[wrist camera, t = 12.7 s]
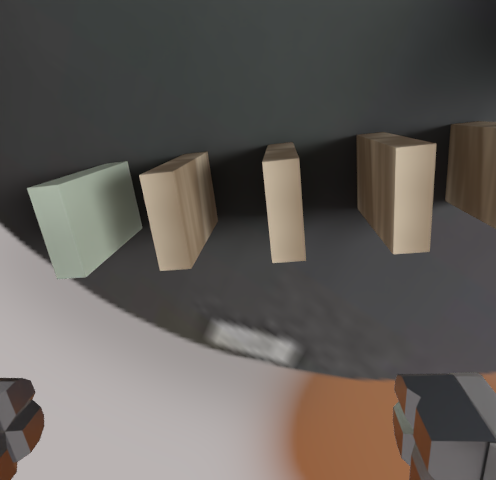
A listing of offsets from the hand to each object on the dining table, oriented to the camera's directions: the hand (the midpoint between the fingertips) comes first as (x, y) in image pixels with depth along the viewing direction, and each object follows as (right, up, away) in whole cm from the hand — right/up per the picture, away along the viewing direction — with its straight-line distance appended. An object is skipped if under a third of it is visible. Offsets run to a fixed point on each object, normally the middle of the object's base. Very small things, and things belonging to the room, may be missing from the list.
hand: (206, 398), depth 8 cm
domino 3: (+11, +9, +21) cm, 25 cm away
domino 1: (-3, +8, +22) cm, 24 cm away
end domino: (-10, +7, +23) cm, 26 cm away
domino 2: (+4, +8, +22) cm, 23 cm away
